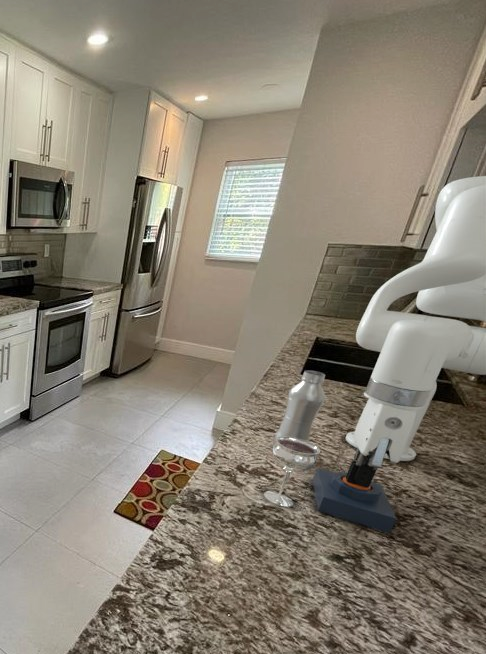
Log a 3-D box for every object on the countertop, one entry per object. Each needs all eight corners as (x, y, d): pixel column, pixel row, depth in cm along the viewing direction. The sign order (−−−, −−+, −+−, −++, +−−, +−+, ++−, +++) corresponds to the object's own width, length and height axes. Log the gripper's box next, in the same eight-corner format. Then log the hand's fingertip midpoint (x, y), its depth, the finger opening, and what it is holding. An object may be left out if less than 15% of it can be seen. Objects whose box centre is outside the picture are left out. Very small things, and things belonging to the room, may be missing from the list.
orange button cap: (338, 481, 80) (341, 474, 80) (365, 489, 78) (368, 481, 78) (341, 491, 77) (344, 484, 76) (369, 499, 75) (372, 491, 74)
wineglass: (262, 504, 78) (281, 449, 73) (254, 485, 84) (271, 433, 79) (304, 514, 76) (326, 458, 71) (293, 493, 81) (313, 440, 77)
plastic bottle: (310, 461, 93) (341, 379, 86) (277, 457, 94) (305, 376, 87) (296, 447, 99) (323, 370, 92) (265, 444, 100) (290, 367, 93)
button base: (312, 480, 86) (320, 460, 84) (375, 498, 81) (384, 476, 79) (317, 511, 77) (326, 488, 75) (389, 533, 71) (401, 509, 70)
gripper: (440, 413, 63) (393, 512, 69) (413, 385, 74) (374, 472, 81) (375, 401, 66) (336, 495, 73) (359, 376, 78) (326, 459, 85)
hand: (356, 482), depth 77 cm, fingers closed
